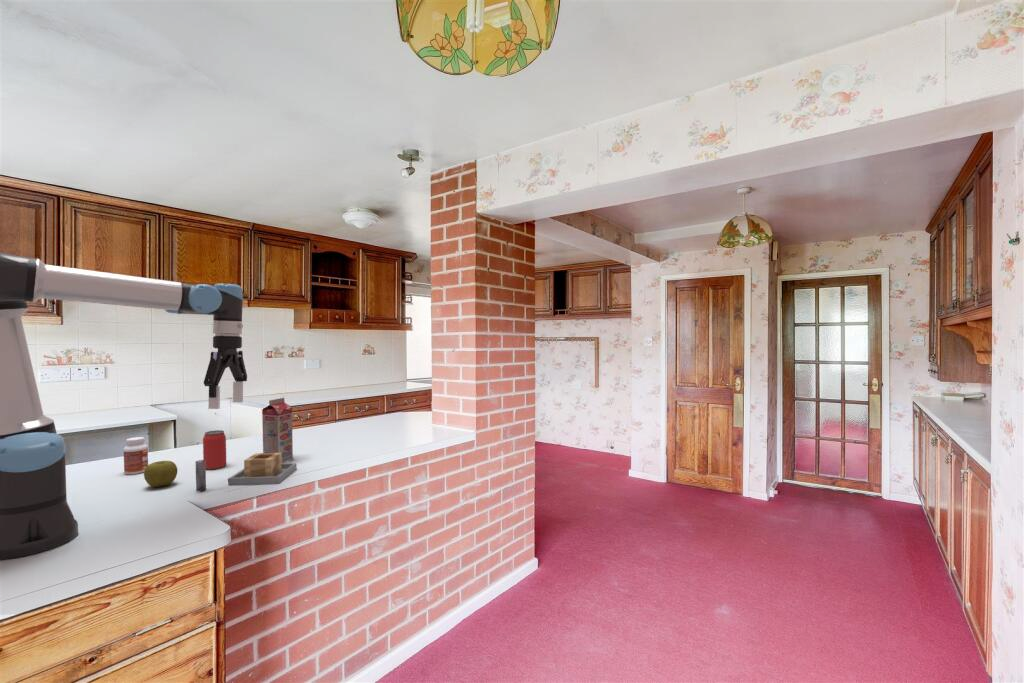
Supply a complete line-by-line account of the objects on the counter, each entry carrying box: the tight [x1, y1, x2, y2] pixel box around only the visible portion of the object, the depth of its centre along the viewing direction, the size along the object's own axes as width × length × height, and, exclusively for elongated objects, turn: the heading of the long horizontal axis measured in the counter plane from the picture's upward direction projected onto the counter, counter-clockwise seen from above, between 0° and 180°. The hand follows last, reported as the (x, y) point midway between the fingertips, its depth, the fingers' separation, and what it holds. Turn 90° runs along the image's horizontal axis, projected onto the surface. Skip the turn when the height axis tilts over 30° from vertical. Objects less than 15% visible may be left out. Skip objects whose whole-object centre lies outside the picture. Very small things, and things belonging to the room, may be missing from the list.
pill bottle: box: [123, 436, 149, 475], centre depth 154 cm, size 6×6×11 cm
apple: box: [143, 460, 178, 488], centre depth 140 cm, size 8×8×7 cm
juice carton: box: [261, 397, 294, 463], centre depth 166 cm, size 7×7×22 cm
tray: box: [227, 462, 298, 486], centre depth 149 cm, size 15×15×2 cm
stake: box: [195, 459, 207, 492], centre depth 136 cm, size 2×2×8 cm
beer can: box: [202, 429, 227, 471], centre depth 159 cm, size 7×7×12 cm
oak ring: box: [243, 452, 282, 477], centre depth 148 cm, size 8×8×6 cm
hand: (226, 405), depth 142 cm, fingers open, 13 cm apart
